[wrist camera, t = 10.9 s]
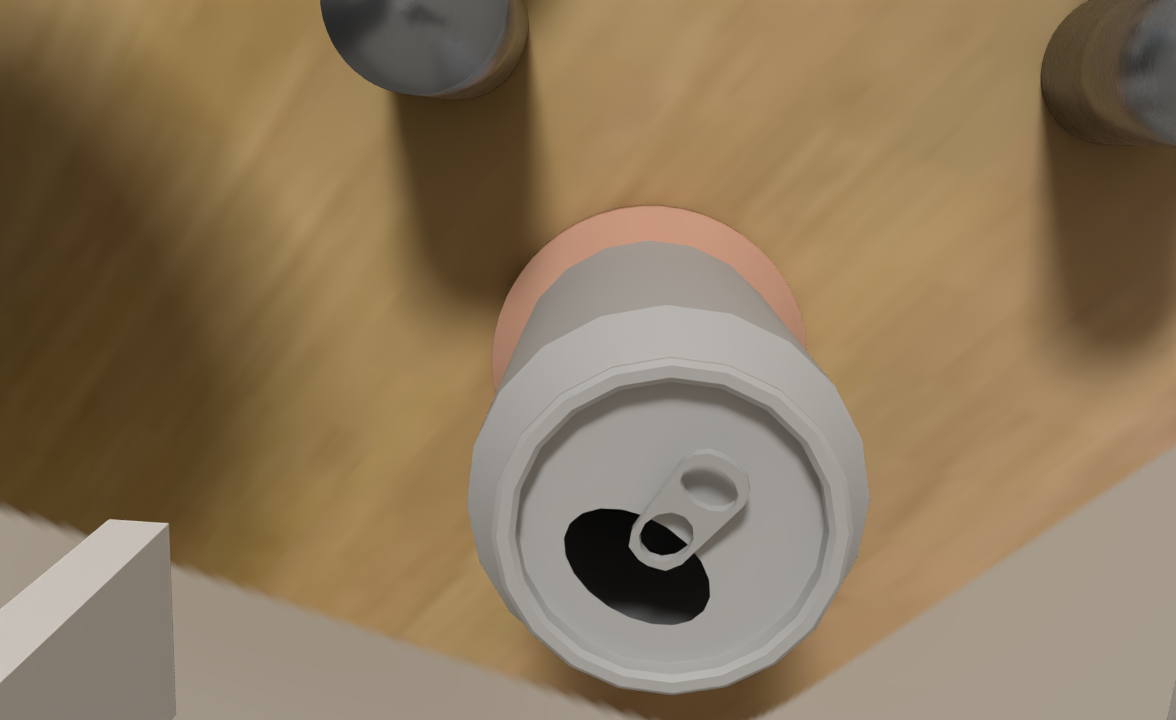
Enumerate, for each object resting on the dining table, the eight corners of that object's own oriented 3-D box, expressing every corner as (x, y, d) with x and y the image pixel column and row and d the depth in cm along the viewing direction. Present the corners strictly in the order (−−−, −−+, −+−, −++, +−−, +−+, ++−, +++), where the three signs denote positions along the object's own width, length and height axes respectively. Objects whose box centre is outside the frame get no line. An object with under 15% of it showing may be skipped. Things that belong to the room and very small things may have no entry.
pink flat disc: (488, 492, 31) (485, 501, 30) (502, 194, 29) (499, 196, 28) (784, 513, 31) (788, 523, 30) (819, 216, 28) (825, 218, 28)
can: (468, 398, 29) (370, 588, 17) (616, 182, 28) (617, 233, 16) (678, 537, 30) (719, 807, 18) (834, 335, 28) (987, 489, 17)
